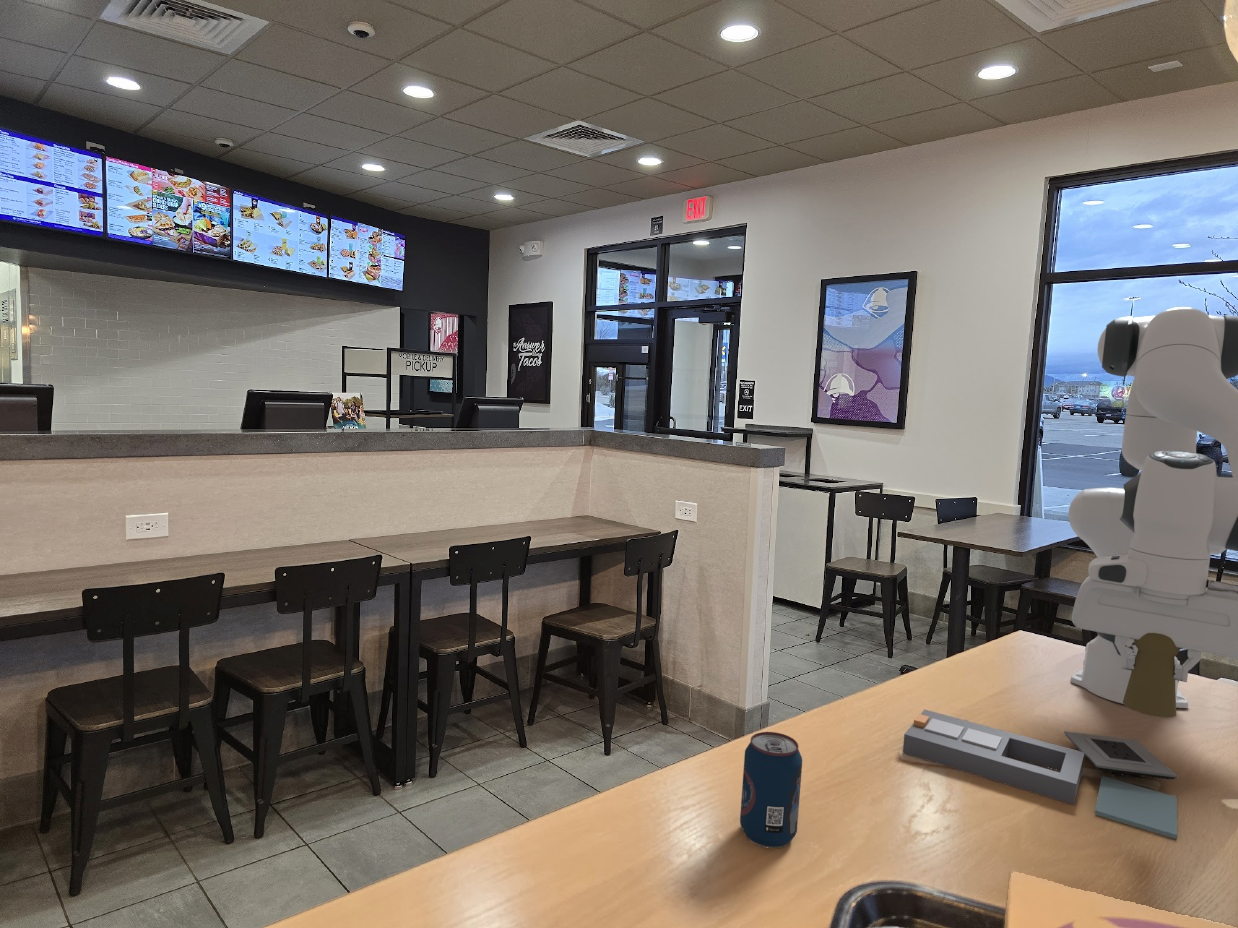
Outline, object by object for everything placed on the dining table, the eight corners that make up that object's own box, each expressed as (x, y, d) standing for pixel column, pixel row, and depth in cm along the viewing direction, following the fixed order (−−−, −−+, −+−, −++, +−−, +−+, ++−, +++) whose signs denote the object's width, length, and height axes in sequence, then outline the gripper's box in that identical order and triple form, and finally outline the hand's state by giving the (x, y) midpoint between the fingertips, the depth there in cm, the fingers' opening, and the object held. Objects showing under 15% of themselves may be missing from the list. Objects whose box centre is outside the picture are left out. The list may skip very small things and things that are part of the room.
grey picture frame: (1176, 789, 112) (1177, 773, 112) (1095, 778, 114) (1096, 762, 114) (1134, 752, 125) (1136, 738, 125) (1062, 743, 127) (1064, 729, 127)
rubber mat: (1101, 779, 115) (1101, 775, 115) (1176, 800, 110) (1176, 796, 110) (1094, 814, 105) (1095, 810, 105) (1176, 839, 100) (1177, 834, 100)
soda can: (736, 817, 100) (742, 727, 99) (790, 820, 100) (797, 731, 99) (742, 849, 94) (749, 753, 92) (801, 853, 93) (808, 757, 92)
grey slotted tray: (922, 726, 131) (924, 704, 130) (1082, 771, 117) (1085, 747, 117) (902, 752, 121) (904, 728, 120) (1074, 804, 108) (1077, 778, 107)
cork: (1168, 721, 102) (1179, 639, 101) (1116, 705, 106) (1125, 626, 105) (1181, 710, 106) (1192, 630, 105) (1130, 695, 110) (1140, 619, 109)
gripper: (1264, 584, 101) (1249, 687, 102) (1080, 557, 113) (1070, 650, 114) (1269, 593, 96) (1253, 702, 97) (1076, 564, 107) (1065, 662, 109)
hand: (1153, 674), depth 106 cm, fingers closed on cork, 4 cm apart
